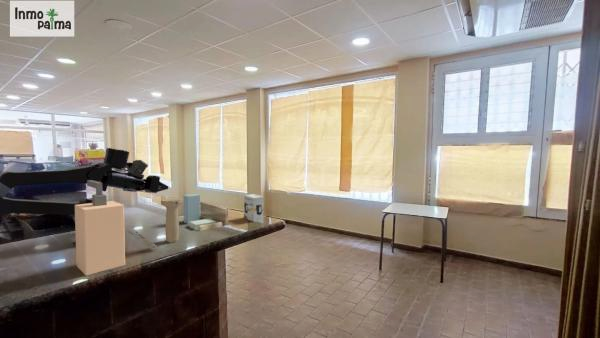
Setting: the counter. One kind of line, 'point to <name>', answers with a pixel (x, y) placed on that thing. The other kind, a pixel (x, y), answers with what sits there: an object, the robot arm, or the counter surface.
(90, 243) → the soap dispenser
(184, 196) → the light blue block
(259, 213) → the ink box
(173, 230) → the handle
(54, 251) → the counter surface
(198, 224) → the pale green block
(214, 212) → the rack
